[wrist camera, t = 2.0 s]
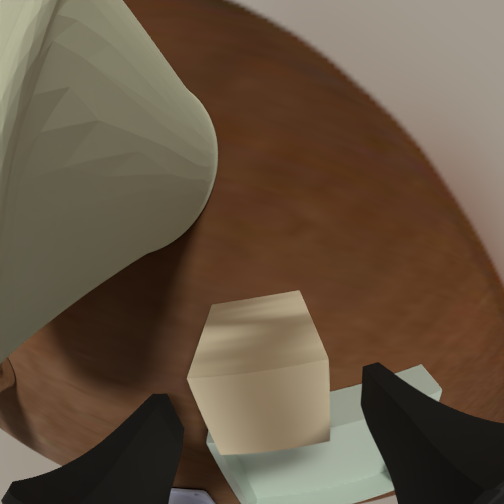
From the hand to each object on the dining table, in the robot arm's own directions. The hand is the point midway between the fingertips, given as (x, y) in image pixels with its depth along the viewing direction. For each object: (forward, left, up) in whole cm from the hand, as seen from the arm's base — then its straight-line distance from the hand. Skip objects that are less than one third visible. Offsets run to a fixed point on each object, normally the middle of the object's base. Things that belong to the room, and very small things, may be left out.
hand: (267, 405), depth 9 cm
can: (-5, +10, -6) cm, 12 cm away
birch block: (0, 0, -5) cm, 5 cm away
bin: (+3, -12, -5) cm, 14 cm away
